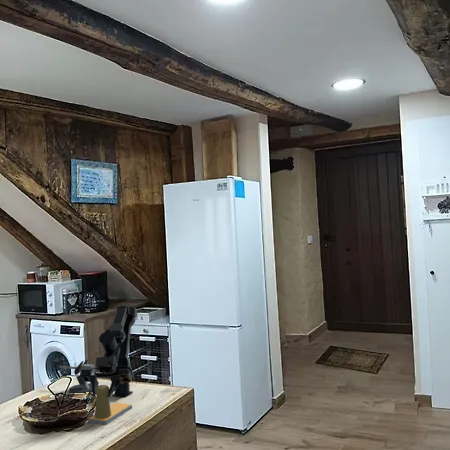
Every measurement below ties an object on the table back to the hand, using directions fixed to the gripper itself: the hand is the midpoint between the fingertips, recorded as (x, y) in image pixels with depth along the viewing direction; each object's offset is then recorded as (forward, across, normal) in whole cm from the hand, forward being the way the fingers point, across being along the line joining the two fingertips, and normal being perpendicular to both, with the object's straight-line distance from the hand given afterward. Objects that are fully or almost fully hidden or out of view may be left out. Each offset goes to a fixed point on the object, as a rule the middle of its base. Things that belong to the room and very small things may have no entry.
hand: (101, 396), depth 188 cm
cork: (+4, 0, +6) cm, 8 cm away
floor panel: (+2, +1, +11) cm, 11 cm away
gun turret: (-18, -24, +31) cm, 43 cm away
